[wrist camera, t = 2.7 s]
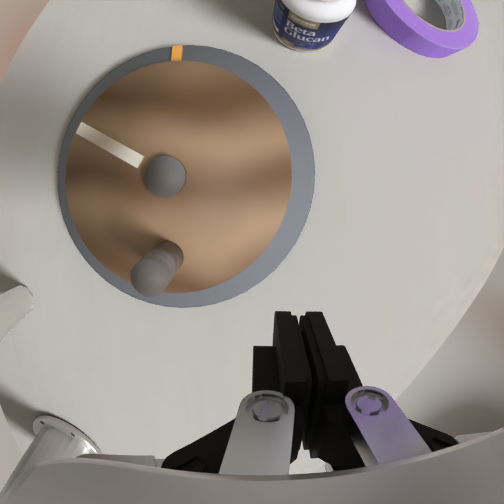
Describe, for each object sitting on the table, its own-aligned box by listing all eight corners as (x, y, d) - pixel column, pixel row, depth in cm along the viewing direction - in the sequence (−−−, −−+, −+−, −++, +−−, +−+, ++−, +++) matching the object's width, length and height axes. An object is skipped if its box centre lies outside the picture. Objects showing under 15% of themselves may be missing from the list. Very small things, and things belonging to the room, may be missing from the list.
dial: (79, 81, 20) (36, 64, 14) (291, 66, 21) (304, 33, 14) (82, 280, 25) (44, 310, 19) (283, 289, 25) (293, 327, 19)
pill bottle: (274, 54, 22) (286, -3, 12) (269, 4, 20) (277, -61, 11) (336, 55, 22) (377, 6, 12) (329, 7, 20) (360, -52, 11)
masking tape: (462, 75, 22) (484, 67, 18) (361, 36, 21) (375, 19, 18) (453, -6, 19) (470, -18, 15) (360, -45, 18) (371, -64, 15)
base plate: (348, 243, 26) (354, 248, 24) (131, 330, 28) (124, 339, 26) (246, 16, 21) (246, 6, 19) (39, 131, 23) (28, 130, 21)
